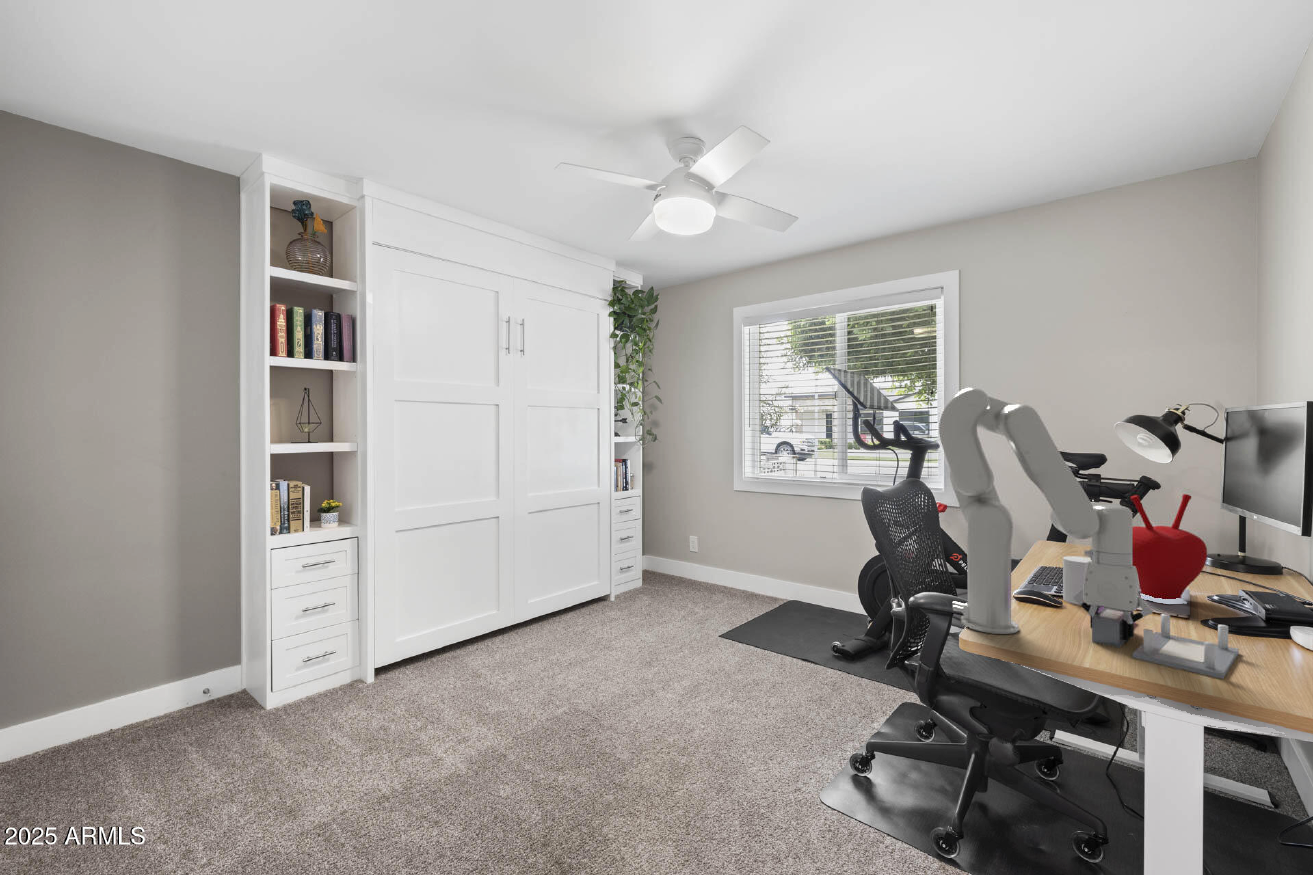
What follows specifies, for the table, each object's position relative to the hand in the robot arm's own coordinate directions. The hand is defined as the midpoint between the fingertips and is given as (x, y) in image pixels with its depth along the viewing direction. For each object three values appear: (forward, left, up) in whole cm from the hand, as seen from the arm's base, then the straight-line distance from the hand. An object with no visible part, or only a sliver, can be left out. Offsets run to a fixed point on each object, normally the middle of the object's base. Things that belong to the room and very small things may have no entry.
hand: (1111, 634), depth 136 cm
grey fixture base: (+13, 0, -1) cm, 13 cm away
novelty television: (0, +48, -1) cm, 48 cm away
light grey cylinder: (-14, +29, -1) cm, 32 cm away
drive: (0, 0, -1) cm, 1 cm away
